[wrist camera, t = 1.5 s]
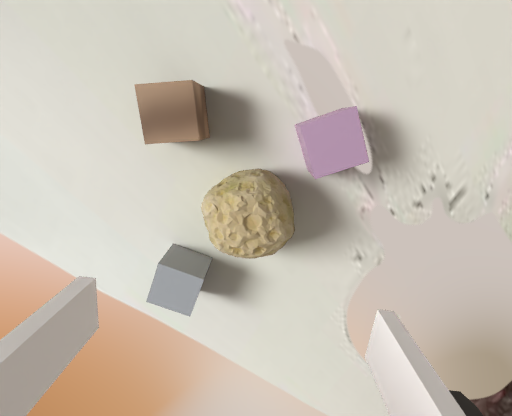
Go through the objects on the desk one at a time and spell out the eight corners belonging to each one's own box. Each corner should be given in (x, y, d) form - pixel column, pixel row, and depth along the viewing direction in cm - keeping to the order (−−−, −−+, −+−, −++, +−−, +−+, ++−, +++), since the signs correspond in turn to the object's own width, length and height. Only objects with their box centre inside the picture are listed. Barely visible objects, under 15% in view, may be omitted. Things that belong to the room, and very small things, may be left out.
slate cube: (173, 243, 34) (158, 263, 29) (212, 257, 34) (204, 279, 30) (162, 277, 36) (146, 301, 31) (200, 290, 36) (190, 316, 31)
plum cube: (294, 124, 30) (300, 125, 25) (341, 108, 29) (356, 106, 24) (307, 169, 31) (315, 179, 26) (352, 155, 30) (369, 161, 26)
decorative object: (291, 214, 36) (332, 194, 27) (244, 278, 33) (272, 282, 23) (235, 166, 35) (257, 129, 26) (181, 228, 32) (183, 210, 23)
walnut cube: (156, 90, 29) (134, 84, 24) (204, 86, 29) (191, 80, 24) (163, 140, 30) (145, 144, 26) (209, 137, 30) (199, 140, 25)
